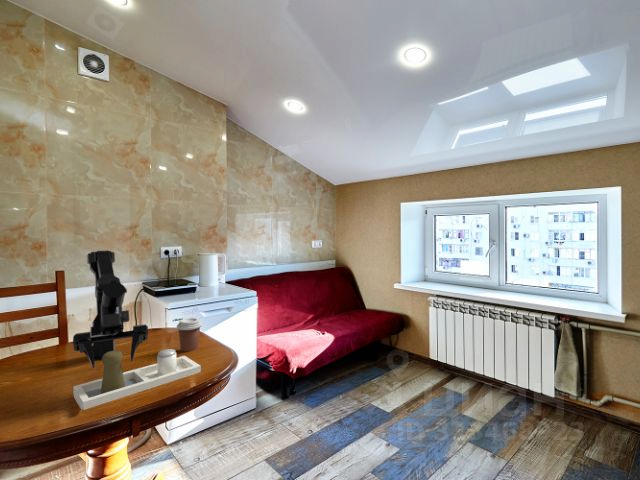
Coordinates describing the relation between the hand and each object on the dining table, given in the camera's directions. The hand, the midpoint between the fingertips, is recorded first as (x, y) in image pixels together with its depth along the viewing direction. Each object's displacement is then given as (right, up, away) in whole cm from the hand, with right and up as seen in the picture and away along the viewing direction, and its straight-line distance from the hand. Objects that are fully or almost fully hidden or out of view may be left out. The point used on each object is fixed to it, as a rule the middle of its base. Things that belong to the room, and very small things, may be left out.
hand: (113, 364), depth 96 cm
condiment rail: (+4, -9, +7) cm, 12 cm away
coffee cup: (+8, -8, +35) cm, 37 cm away
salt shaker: (+10, -8, +12) cm, 18 cm away
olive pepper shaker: (-1, -8, +2) cm, 8 cm away
